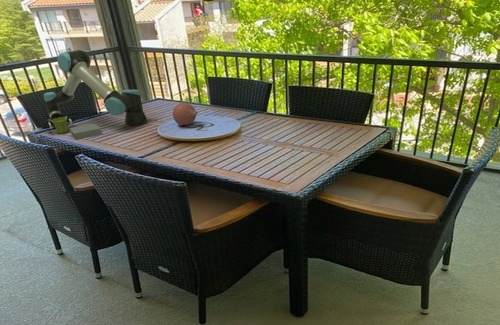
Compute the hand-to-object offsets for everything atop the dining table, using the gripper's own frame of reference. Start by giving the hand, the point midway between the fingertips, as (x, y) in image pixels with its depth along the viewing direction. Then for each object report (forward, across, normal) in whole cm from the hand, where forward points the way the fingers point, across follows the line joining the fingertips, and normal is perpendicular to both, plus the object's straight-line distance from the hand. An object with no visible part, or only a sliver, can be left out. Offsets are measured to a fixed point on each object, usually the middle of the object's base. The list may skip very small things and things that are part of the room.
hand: (61, 124), depth 230 cm
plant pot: (-4, 0, -6) cm, 7 cm away
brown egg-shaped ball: (+41, -71, -6) cm, 82 cm away
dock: (+12, -12, -6) cm, 18 cm away
